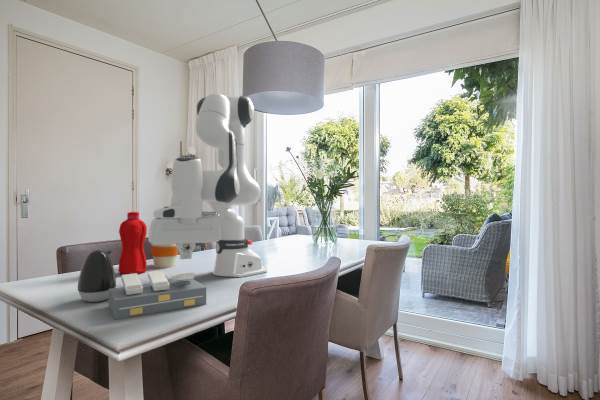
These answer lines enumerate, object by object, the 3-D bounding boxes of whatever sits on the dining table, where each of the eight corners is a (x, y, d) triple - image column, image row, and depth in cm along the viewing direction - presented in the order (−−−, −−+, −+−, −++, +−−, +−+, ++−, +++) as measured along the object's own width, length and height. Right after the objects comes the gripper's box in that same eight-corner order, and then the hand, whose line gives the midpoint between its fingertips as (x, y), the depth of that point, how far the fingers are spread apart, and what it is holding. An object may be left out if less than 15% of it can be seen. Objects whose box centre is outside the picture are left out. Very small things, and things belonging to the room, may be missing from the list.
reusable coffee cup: (166, 269, 150) (166, 234, 150) (143, 267, 155) (143, 233, 155) (185, 264, 162) (185, 232, 162) (163, 262, 167) (164, 231, 166)
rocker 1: (136, 277, 103) (137, 272, 103) (142, 292, 96) (143, 287, 96) (121, 279, 101) (121, 274, 100) (126, 294, 94) (126, 289, 93)
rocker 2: (161, 275, 107) (162, 270, 107) (169, 289, 100) (169, 283, 100) (147, 276, 105) (148, 271, 104) (154, 291, 98) (154, 285, 97)
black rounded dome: (124, 296, 111) (124, 248, 111) (98, 306, 101) (98, 253, 101) (96, 293, 113) (97, 246, 113) (68, 303, 103) (69, 251, 103)
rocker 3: (185, 280, 111) (184, 274, 111) (194, 278, 104) (193, 272, 104) (172, 281, 108) (171, 276, 109) (180, 279, 101) (180, 274, 102)
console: (192, 293, 114) (192, 275, 114) (206, 304, 104) (206, 284, 103) (108, 306, 101) (108, 285, 101) (115, 319, 90) (115, 296, 90)
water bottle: (130, 269, 151) (130, 211, 150) (150, 271, 147) (150, 211, 146) (111, 273, 142) (112, 211, 142) (132, 276, 138) (132, 212, 138)
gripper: (216, 211, 111) (215, 254, 111) (147, 211, 100) (146, 259, 100) (224, 211, 106) (223, 257, 106) (152, 211, 95) (151, 263, 94)
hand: (185, 258), depth 103 cm, fingers closed
